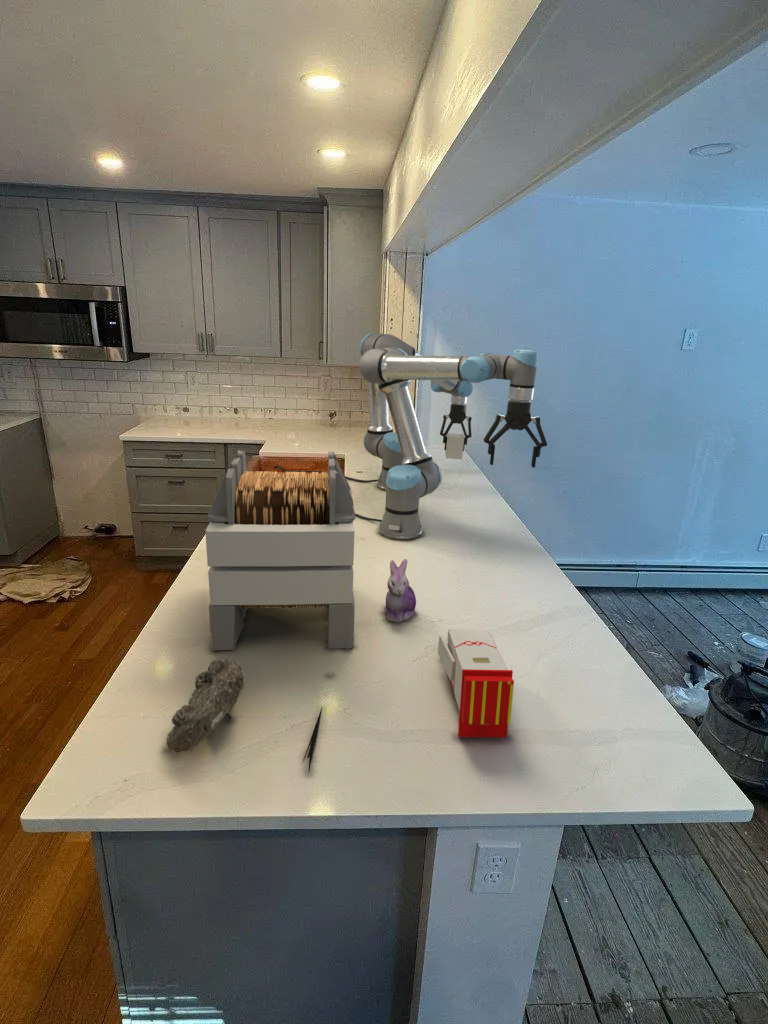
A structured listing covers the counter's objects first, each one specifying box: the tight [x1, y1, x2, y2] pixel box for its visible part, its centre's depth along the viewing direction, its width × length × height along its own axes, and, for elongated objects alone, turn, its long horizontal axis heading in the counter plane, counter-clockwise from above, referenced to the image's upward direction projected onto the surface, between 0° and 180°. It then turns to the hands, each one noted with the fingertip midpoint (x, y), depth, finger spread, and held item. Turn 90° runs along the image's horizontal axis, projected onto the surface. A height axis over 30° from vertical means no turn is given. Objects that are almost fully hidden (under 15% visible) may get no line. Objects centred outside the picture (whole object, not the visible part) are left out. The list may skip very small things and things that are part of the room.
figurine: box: [384, 558, 417, 623], centre depth 145 cm, size 9×10×15 cm
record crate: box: [204, 449, 356, 652], centre depth 138 cm, size 34×33×41 cm
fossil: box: [166, 658, 245, 754], centre depth 106 cm, size 22×10×15 cm
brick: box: [444, 432, 465, 460], centre depth 279 cm, size 9×8×11 cm
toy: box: [437, 628, 515, 738], centre depth 117 cm, size 12×13×30 cm
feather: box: [301, 673, 332, 771], centre depth 108 cm, size 2×28×2 cm
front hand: (512, 465), depth 187 cm, fingers open, 13 cm apart
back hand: (454, 450), depth 279 cm, fingers closed on brick, 8 cm apart
